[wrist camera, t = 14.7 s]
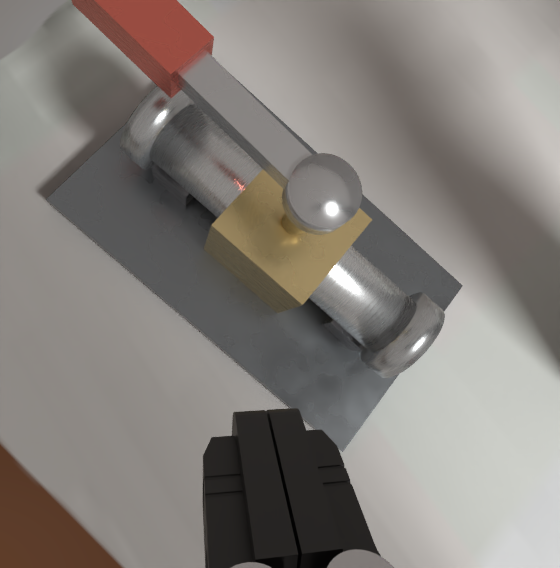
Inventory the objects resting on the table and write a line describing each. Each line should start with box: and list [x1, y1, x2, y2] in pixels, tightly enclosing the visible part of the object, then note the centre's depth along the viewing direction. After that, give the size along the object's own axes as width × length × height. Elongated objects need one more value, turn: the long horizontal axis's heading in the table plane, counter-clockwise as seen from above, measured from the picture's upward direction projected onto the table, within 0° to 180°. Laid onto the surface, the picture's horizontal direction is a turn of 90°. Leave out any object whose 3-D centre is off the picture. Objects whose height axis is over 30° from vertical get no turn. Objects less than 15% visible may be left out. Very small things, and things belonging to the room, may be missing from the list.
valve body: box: [46, 81, 462, 452], centre depth 31 cm, size 27×16×12 cm, turn 50°
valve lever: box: [72, 0, 362, 235], centre depth 23 cm, size 17×4×2 cm, turn 48°
